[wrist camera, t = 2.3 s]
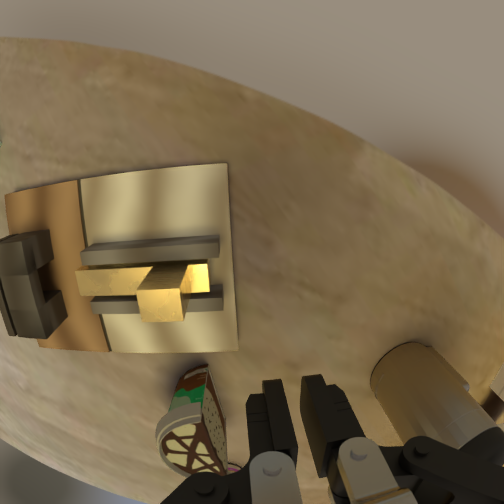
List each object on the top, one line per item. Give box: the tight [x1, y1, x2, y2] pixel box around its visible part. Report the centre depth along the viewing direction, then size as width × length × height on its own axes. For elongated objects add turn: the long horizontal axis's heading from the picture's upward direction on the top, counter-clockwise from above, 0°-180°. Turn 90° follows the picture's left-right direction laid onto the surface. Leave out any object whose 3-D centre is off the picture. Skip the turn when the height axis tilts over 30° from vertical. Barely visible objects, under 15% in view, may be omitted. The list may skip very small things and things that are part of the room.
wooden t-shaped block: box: [75, 258, 211, 322], centre depth 23 cm, size 12×2×7 cm, turn 92°
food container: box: [156, 364, 229, 478], centre depth 29 cm, size 12×6×10 cm, turn 9°
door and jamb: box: [0, 163, 239, 353], centre depth 25 cm, size 24×18×7 cm
